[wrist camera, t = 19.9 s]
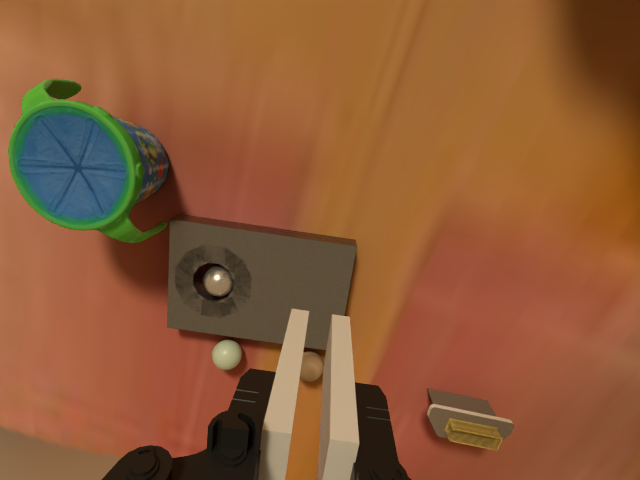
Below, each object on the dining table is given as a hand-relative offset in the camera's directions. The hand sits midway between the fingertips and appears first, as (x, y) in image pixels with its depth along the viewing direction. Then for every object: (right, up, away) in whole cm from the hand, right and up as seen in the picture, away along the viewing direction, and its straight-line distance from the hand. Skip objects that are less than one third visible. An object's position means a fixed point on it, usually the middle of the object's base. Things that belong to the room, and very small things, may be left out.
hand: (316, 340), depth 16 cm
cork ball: (-1, -11, +28) cm, 30 cm away
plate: (-7, 0, +27) cm, 27 cm away
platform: (+18, -16, +31) cm, 39 cm away
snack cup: (-20, +13, +23) cm, 33 cm away
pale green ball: (-11, -9, +28) cm, 31 cm away
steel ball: (-11, 0, +25) cm, 27 cm away
